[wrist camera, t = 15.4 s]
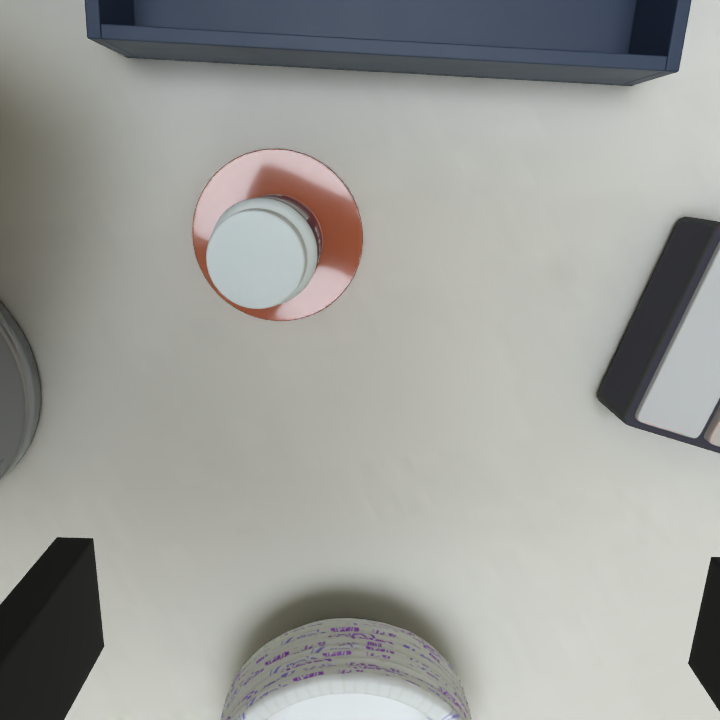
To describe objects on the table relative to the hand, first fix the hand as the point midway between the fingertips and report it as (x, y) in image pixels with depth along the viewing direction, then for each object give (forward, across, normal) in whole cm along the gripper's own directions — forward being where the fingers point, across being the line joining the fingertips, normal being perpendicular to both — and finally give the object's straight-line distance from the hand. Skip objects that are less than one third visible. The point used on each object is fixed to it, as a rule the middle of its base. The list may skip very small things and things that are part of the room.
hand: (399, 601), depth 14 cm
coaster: (+23, -6, +5) cm, 24 cm away
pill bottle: (+23, -5, +5) cm, 24 cm away
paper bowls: (+23, -1, -24) cm, 33 cm away
